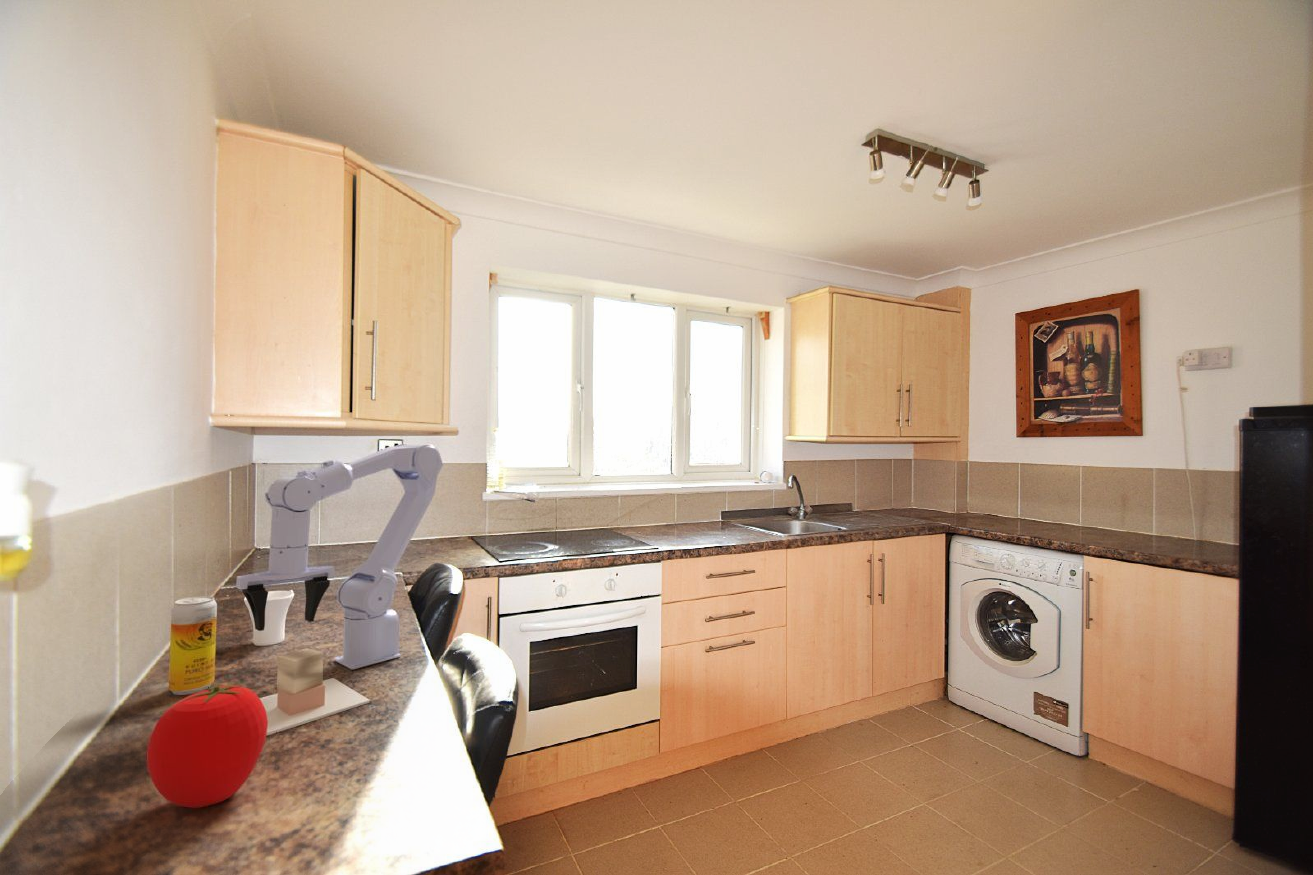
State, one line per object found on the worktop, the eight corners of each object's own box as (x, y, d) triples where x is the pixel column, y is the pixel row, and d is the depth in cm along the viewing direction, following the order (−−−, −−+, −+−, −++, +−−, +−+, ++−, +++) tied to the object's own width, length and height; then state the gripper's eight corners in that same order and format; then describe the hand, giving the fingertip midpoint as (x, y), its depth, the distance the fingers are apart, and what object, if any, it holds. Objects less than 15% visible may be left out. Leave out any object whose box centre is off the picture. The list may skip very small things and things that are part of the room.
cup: (302, 639, 125) (304, 592, 125) (254, 651, 117) (255, 601, 117) (282, 632, 129) (283, 587, 130) (234, 643, 122) (235, 595, 122)
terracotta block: (311, 696, 95) (312, 678, 95) (324, 705, 92) (325, 686, 92) (277, 706, 91) (277, 687, 91) (289, 716, 88) (289, 696, 88)
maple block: (305, 678, 95) (306, 647, 95) (322, 684, 93) (323, 652, 93) (276, 688, 91) (277, 656, 91) (293, 694, 89) (294, 661, 89)
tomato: (168, 843, 60) (172, 718, 61) (130, 807, 66) (134, 694, 66) (285, 790, 70) (288, 682, 70) (242, 763, 76) (245, 664, 76)
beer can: (188, 697, 95) (191, 605, 95) (158, 694, 96) (162, 603, 97) (223, 683, 101) (226, 596, 101) (194, 680, 102) (197, 594, 103)
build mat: (333, 680, 103) (333, 678, 103) (369, 702, 94) (369, 700, 94) (224, 710, 91) (224, 708, 91) (254, 739, 82) (254, 736, 82)
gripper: (324, 540, 109) (320, 613, 109) (232, 547, 98) (227, 628, 98) (340, 544, 105) (336, 620, 104) (246, 552, 94) (241, 637, 93)
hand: (285, 625), depth 101 cm, fingers open, 7 cm apart
